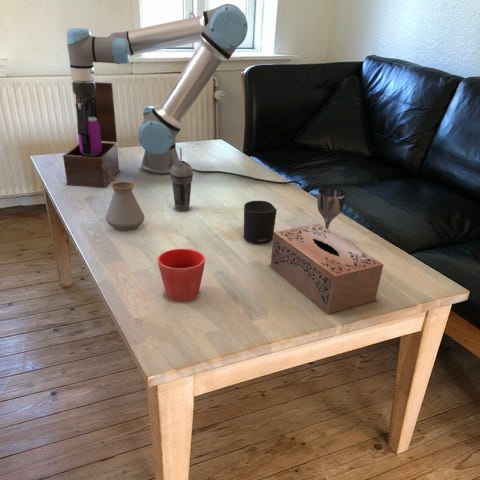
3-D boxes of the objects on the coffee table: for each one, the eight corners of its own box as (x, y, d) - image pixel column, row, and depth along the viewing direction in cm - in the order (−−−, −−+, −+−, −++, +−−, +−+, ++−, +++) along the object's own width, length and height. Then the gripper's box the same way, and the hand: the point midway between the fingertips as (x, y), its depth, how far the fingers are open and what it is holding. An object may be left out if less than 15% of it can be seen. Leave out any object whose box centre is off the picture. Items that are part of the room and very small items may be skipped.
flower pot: (160, 283, 128) (158, 247, 122) (204, 283, 129) (204, 248, 124) (158, 305, 119) (156, 268, 114) (205, 305, 120) (205, 268, 115)
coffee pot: (150, 230, 154) (148, 181, 145) (113, 237, 149) (108, 186, 140) (126, 206, 169) (122, 160, 160) (91, 211, 164) (86, 164, 155)
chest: (104, 187, 182) (101, 158, 176) (67, 184, 183) (62, 155, 177) (119, 170, 198) (117, 143, 192) (84, 168, 199) (81, 140, 193)
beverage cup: (195, 205, 172) (195, 144, 161) (191, 213, 166) (190, 151, 155) (173, 203, 172) (172, 143, 161) (169, 211, 166) (167, 149, 155)
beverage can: (76, 152, 185) (72, 117, 179) (95, 149, 190) (92, 115, 183) (87, 157, 181) (83, 122, 174) (106, 154, 185) (103, 119, 179)
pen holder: (237, 241, 150) (239, 209, 145) (249, 229, 157) (251, 198, 152) (267, 247, 147) (270, 215, 142) (278, 235, 155) (281, 204, 149)
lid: (111, 83, 180) (116, 80, 186) (73, 81, 181) (80, 77, 187) (116, 142, 192) (121, 137, 198) (80, 139, 192) (86, 134, 198)
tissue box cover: (375, 300, 126) (383, 264, 120) (328, 313, 120) (334, 276, 114) (314, 256, 144) (318, 223, 139) (270, 266, 138) (273, 232, 133)
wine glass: (340, 237, 156) (348, 190, 147) (335, 248, 149) (343, 198, 141) (314, 233, 158) (321, 185, 149) (309, 243, 151) (315, 194, 143)
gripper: (84, 87, 163) (92, 159, 176) (103, 77, 180) (109, 143, 193) (61, 85, 164) (70, 157, 176) (82, 75, 181) (89, 141, 193)
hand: (91, 149), depth 185 cm, fingers closed on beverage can, 8 cm apart
